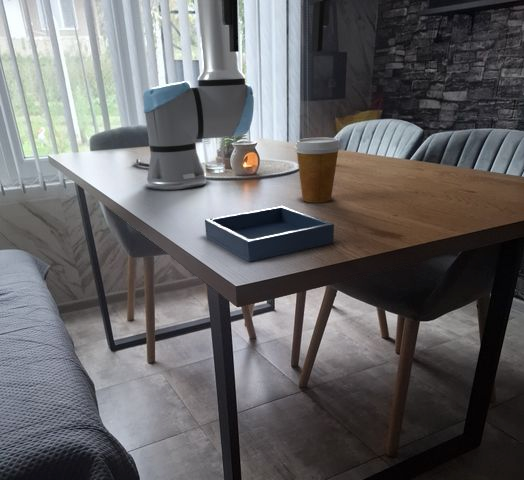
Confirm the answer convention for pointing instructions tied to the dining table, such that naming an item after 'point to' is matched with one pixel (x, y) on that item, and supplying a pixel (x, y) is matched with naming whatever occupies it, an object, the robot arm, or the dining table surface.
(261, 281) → the dining table surface
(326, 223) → the tray
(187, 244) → the dining table surface
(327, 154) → the disposable coffee cup
